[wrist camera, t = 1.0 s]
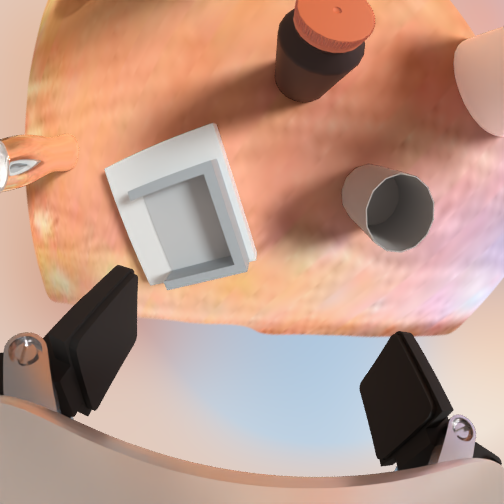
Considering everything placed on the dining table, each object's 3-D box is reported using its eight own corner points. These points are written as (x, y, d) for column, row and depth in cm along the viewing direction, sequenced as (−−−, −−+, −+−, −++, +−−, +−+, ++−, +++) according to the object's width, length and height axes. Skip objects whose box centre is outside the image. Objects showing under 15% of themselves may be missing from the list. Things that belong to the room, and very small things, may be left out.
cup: (350, 232, 36) (374, 262, 27) (333, 175, 34) (355, 187, 24) (403, 213, 35) (438, 237, 26) (389, 157, 32) (426, 164, 23)
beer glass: (67, 122, 32) (-4, 126, 18) (88, 151, 34) (16, 164, 20) (46, 153, 34) (-21, 169, 20) (65, 182, 36) (-3, 206, 22)
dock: (113, 166, 35) (89, 172, 29) (216, 124, 32) (206, 120, 27) (156, 277, 41) (141, 297, 35) (256, 252, 38) (254, 272, 33)
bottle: (295, 45, 27) (318, -41, 9) (338, 76, 29) (406, 17, 10) (263, 82, 30) (256, 14, 11) (308, 113, 31) (354, 78, 12)
